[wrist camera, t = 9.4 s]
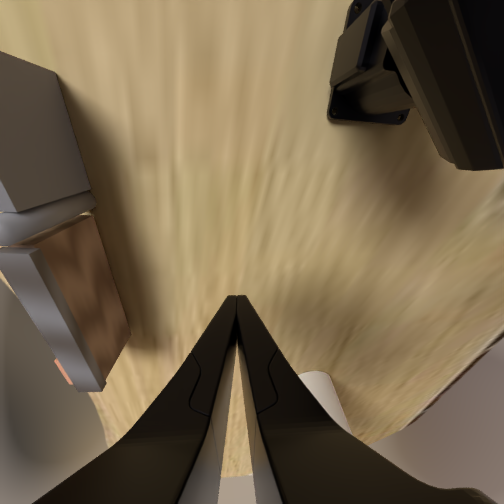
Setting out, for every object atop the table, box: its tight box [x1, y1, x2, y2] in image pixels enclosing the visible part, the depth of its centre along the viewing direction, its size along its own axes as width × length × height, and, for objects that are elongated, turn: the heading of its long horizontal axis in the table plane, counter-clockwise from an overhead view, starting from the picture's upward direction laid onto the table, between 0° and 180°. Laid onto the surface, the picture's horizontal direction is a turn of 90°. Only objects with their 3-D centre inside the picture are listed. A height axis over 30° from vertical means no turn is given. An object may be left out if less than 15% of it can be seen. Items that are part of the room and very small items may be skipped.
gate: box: [0, 215, 131, 392], centre depth 19 cm, size 16×2×7 cm, turn 176°
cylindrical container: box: [298, 371, 352, 435], centre depth 24 cm, size 7×7×25 cm
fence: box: [0, 51, 96, 384], centre depth 17 cm, size 4×27×8 cm, turn 176°
